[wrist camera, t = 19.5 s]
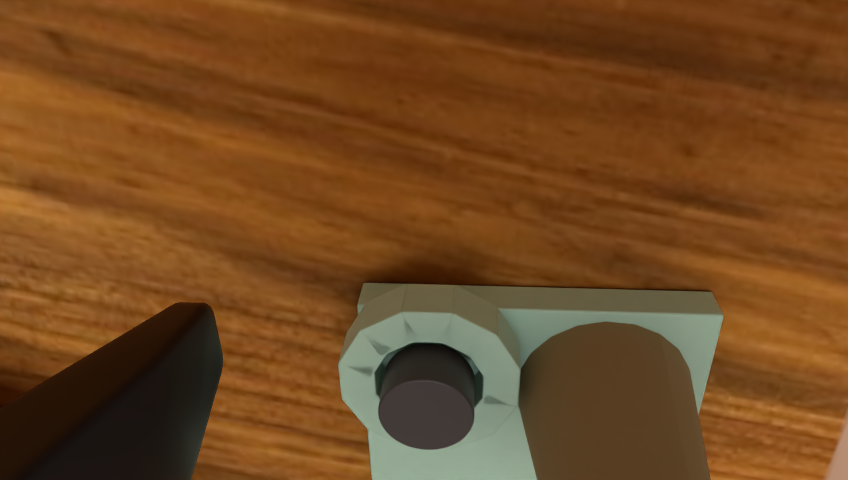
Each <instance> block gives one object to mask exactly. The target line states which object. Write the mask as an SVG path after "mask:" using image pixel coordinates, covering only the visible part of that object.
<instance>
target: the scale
mask: <svg viewBox="0 0 848 480" xmlns="http://www.w3.org/2000/svg"><path fill="white" fill-rule="evenodd" d="M357 309H358V316H357V318H356V319H355V321H354V322H353V324H352V325H351V327H350V329H349V330H348V332H347V333H346V337H345V341H344V344H343V348H342V352H341V355H340V359H339V363H338V368H339V377H340V387H341V396H342V399H343V401H344V402H345V403H346V405H347V406H348V407H349V408H350V409H351V410H352V412H353V413H354V414H355V415H356V416H357V417H358V419H359V420H360V421H361V422H362V423H363V425H364V426H365V427H366V428H367V430H368V442H369V454H370V466H371V478H372V480H537V478H536V474H535V470H534V466H533V462H532V458H531V454H530V450H529V446H528V442H527V438H526V434H525V430H524V426H523V422H522V418H521V414H520V410H519V405H518V402H519V388H520V374H521V368H522V366H523V365H524V363H525V361H526V360H527V358H528V357H529V355H530V354H531V352H533V351H534V350H535V349H536V348H538V347H539V346H540V345H541V344H543V343H544V342H545V341H546V340H548V339H549V338H550V337H551V336H554V335H556V334H559V333H561V332H563V331H566V330H568V329H571V328H573V327H575V326H579V325H586V324H592V323H599V322H616V323H627V324H635V325H638V326H640V327H643V328H646V329H648V330H651V331H653V332H656V333H659V334H661V335H662V336H663V337H664V338H666V339H667V340H668V341H669V342H670V343H672V344H673V345H674V346H675V347H677V348H678V349H679V350H680V352H681V354H682V356H683V358H684V359H685V361H686V363H687V365H688V367H689V368H690V374H691V379H692V384H693V389H694V395H695V400H696V405H697V410H698V415H699V411H700V407H701V403H702V399H703V395H704V391H705V387H706V384H707V380H708V376H709V372H710V368H711V364H712V360H713V356H714V352H715V348H716V344H717V341H718V337H719V333H720V329H721V325H722V321H723V317H724V315H723V313H722V311H721V309H720V307H719V305H718V303H717V301H716V299H715V297H714V295H713V293H712V292H702V291H664V290H625V289H587V288H548V287H509V286H471V285H438V284H394V283H363V286H362V290H361V293H360V297H359V301H358V305H357ZM417 344H437V345H442V346H445V347H448V348H450V349H452V350H454V351H456V352H458V353H459V354H460V355H462V356H463V357H464V358H465V359H466V360H467V362H468V363H469V364H470V366H471V368H472V370H473V372H474V377H475V414H474V423H473V426H472V428H471V430H470V431H469V433H468V434H467V435H466V436H465V437H464V438H463V439H462V440H461V441H460V442H458V443H456V444H454V445H452V446H450V447H446V448H442V449H436V450H423V449H416V448H412V447H409V446H406V445H404V444H402V443H400V442H398V441H396V440H395V439H393V438H392V437H391V436H390V435H389V434H388V433H387V432H386V431H385V430H384V428H383V427H382V425H381V423H380V420H379V416H378V406H379V401H380V395H381V390H382V384H383V379H384V373H385V369H386V366H387V364H388V362H389V361H390V360H391V358H392V357H393V356H394V355H395V354H396V353H398V352H399V351H401V350H403V349H405V348H407V347H409V346H413V345H417Z"/></svg>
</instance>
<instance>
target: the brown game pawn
mask: <svg viewBox="0 0 848 480" xmlns="http://www.w3.org/2000/svg"><path fill="white" fill-rule="evenodd" d="M518 405H519V410H520V414H521V418H522V422H523V426H524V430H525V434H526V438H527V442H528V446H529V450H530V454H531V458H532V462H533V466H534V470H535V474H536V478H537V480H711V479H710V473H709V468H708V463H707V458H706V452H705V447H704V442H703V437H702V431H701V426H700V421H699V416H698V410H697V405H696V400H695V395H694V389H693V384H692V379H691V374H690V368H689V367H688V365H687V363H686V361H685V359H684V358H683V356H682V354H681V352H680V350H679V349H678V348H677V347H675V346H674V345H673V344H672V343H670V342H669V341H668V340H667V339H666V338H664V337H663V336H662V335H661V334H659V333H656V332H653V331H651V330H648V329H646V328H643V327H640V326H638V325H635V324H627V323H616V322H599V323H592V324H586V325H579V326H575V327H573V328H571V329H568V330H566V331H563V332H561V333H559V334H556V335H554V336H551V337H550V338H549V339H548V340H546V341H545V342H544V343H543V344H541V345H540V346H539V347H538V348H536V349H535V350H534V351H533V352H531V354H530V355H529V357H528V358H527V360H526V361H525V363H524V365H523V366H522V368H521V374H520V388H519V402H518Z"/></svg>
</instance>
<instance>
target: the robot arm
mask: <svg viewBox="0 0 848 480" xmlns="http://www.w3.org/2000/svg"><path fill="white" fill-rule="evenodd" d="M222 367H223V354H222V349H221V344H220V340H219V335H218V330H217V326H216V321H215V316H214V313H213V310H212V308H211V307H210V306H209V305H208V304H206V303H190V302H179V303H175V304H173V305H171V306H170V307H168V308H166V309H165V310H163V311H161V312H160V313H158V314H156V315H155V316H153V317H151V318H150V319H148V320H146V321H145V322H143V323H141V324H140V325H138V326H136V327H135V328H133V329H131V330H129V331H128V332H126V333H124V334H123V335H121V336H119V337H118V338H116V339H114V340H113V341H111V342H109V343H108V344H106V345H104V346H103V347H101V348H99V349H98V350H96V351H94V352H93V353H91V354H89V355H88V356H86V357H84V358H83V359H81V360H79V361H78V362H76V363H74V364H73V365H71V366H69V367H68V368H66V369H64V370H63V371H61V372H59V373H58V374H56V375H54V376H53V377H51V378H49V379H48V380H46V381H44V382H43V383H41V384H39V385H37V386H36V387H34V388H32V389H31V390H29V391H27V392H26V393H24V394H22V395H21V396H19V397H17V398H16V399H14V400H12V401H11V402H9V403H7V404H6V405H4V406H2V407H1V408H0V480H191V477H192V474H193V471H194V468H195V465H196V461H197V458H198V454H199V451H200V447H201V444H202V440H203V437H204V433H205V429H206V426H207V422H208V419H209V415H210V412H211V408H212V405H213V401H214V398H215V394H216V391H217V387H218V383H219V380H220V376H221V373H222Z"/></svg>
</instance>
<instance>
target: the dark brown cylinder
mask: <svg viewBox="0 0 848 480" xmlns="http://www.w3.org/2000/svg"><path fill="white" fill-rule="evenodd" d="M474 414H475V377H474V372H473V370H472V368H471V366H470V364H469V363H468V362H467V360H466V359H465V358H464V357H463V356H462V355H460V354H459V353H458V352H456V351H454V350H452V349H450V348H448V347H445V346H442V345H437V344H417V345H413V346H409V347H407V348H405V349H403V350H401V351H399V352H398V353H396V354H395V355H394V356H393V357H392V358H391V360H390V361H389V362H388V364H387V366H386V369H385V373H384V379H383V384H382V390H381V395H380V401H379V406H378V416H379V420H380V423H381V425H382V427H383V428H384V430H385V431H386V432H387V433H388V434H389V435H390V436H391V437H392V438H393V439H395V440H396V441H398V442H400V443H402V444H404V445H406V446H409V447H412V448H416V449H423V450H436V449H442V448H446V447H450V446H452V445H454V444H456V443H458V442H460V441H461V440H462V439H463V438H464V437H465V436H466V435H467V434H468V433H469V431H470V430H471V428H472V426H473V423H474Z"/></svg>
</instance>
